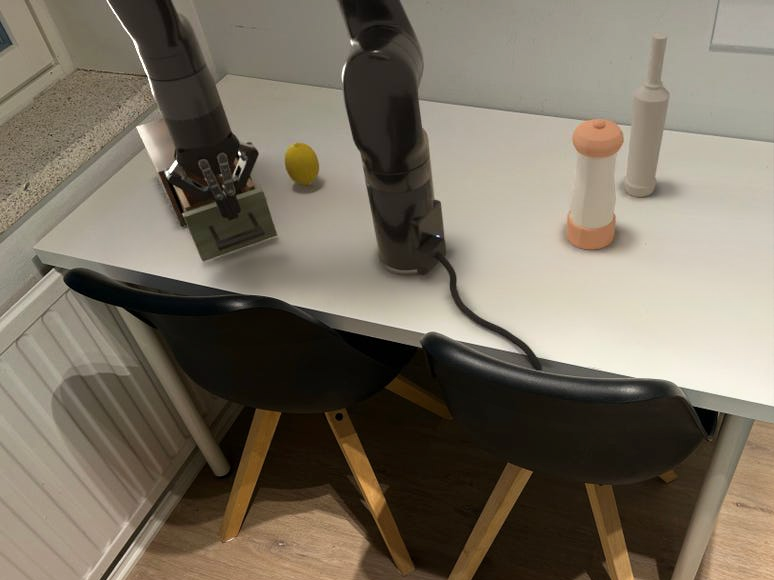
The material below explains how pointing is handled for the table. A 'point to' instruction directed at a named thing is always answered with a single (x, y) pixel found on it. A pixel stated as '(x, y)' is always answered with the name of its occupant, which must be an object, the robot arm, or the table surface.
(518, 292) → the table surface
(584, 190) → the pepper shaker
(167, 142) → the cabinet
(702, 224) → the table surface
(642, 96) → the bottle
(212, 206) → the drawer
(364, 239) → the table surface
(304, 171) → the lemon
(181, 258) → the table surface
